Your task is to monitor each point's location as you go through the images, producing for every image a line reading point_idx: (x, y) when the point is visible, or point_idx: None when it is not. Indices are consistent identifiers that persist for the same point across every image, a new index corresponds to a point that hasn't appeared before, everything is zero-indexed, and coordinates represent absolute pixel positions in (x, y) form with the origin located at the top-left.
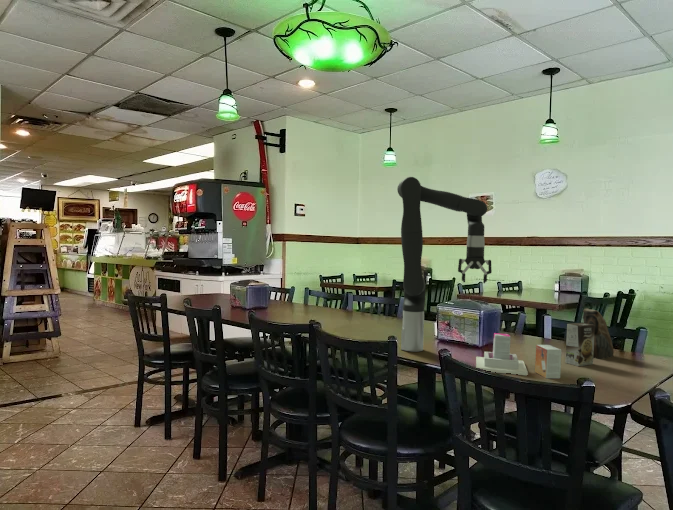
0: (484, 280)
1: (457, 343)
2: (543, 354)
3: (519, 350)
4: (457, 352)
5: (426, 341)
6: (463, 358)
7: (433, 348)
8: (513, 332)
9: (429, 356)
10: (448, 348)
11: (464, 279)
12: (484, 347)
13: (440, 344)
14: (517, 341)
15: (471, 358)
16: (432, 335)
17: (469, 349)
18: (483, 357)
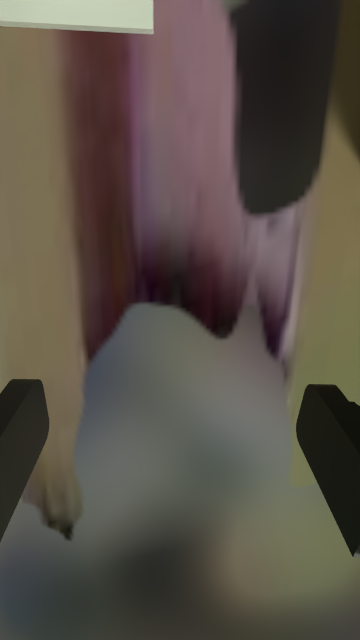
0: (5, 402)
1: (218, 323)
2: None
3: (3, 288)
4: (226, 161)
5: (325, 316)
6: (207, 37)
7: (315, 203)
8: (51, 521)
9: (356, 19)
10: (257, 225)
11: (336, 405)
12: (125, 292)
13: (280, 285)
14: None
15: (173, 52)
16: (293, 411)
17: (178, 237)
18: (120, 19)
